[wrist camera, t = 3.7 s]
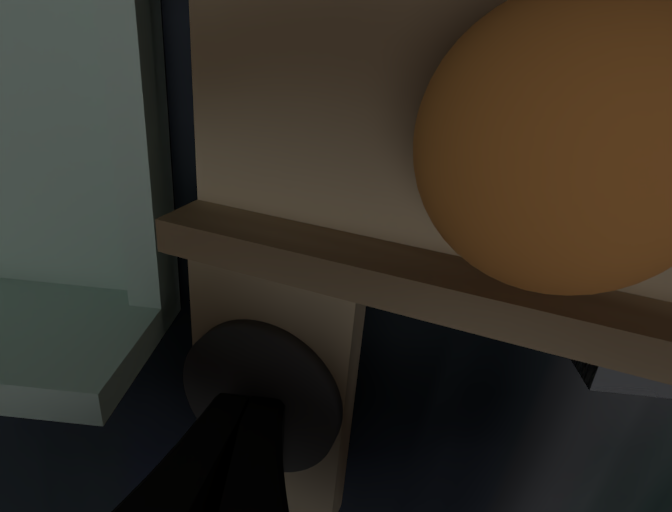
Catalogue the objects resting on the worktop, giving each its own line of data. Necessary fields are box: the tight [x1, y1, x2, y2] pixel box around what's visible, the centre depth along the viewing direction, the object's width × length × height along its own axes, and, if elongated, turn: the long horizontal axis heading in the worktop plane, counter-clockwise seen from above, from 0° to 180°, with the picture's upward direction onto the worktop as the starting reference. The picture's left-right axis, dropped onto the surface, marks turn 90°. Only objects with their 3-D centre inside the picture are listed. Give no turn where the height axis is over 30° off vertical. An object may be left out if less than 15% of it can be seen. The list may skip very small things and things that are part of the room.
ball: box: [413, 0, 672, 296], centre depth 5 cm, size 3×3×3 cm
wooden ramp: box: [155, 0, 672, 512], centre depth 8 cm, size 13×16×5 cm
